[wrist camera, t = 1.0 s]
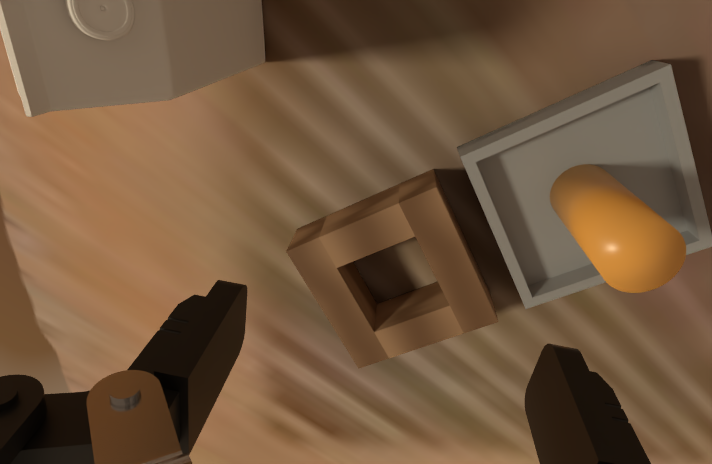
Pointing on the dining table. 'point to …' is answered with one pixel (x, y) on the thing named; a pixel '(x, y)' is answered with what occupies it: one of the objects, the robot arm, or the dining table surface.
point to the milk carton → (125, 49)
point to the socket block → (408, 311)
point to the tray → (577, 147)
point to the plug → (617, 230)
